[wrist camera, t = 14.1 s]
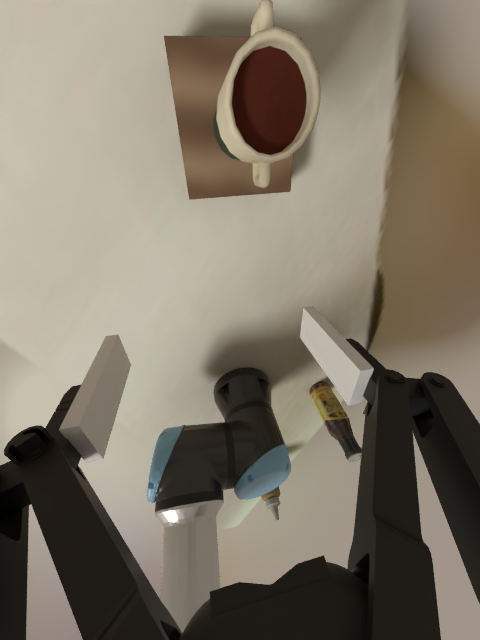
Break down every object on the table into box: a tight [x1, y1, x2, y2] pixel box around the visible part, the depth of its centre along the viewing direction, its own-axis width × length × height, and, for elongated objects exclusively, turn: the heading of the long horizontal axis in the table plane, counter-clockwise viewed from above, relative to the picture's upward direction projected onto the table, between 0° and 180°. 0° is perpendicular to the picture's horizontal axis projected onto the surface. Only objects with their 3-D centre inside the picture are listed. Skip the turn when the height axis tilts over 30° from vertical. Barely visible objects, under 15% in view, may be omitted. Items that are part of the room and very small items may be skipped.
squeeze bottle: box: [261, 486, 280, 520], centre depth 80 cm, size 8×8×18 cm
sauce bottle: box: [310, 383, 362, 462], centre depth 60 cm, size 7×6×20 cm
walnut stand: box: [164, 36, 301, 199], centre depth 29 cm, size 14×14×5 cm
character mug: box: [213, 0, 320, 188], centre depth 21 cm, size 11×7×13 cm, turn 3°
